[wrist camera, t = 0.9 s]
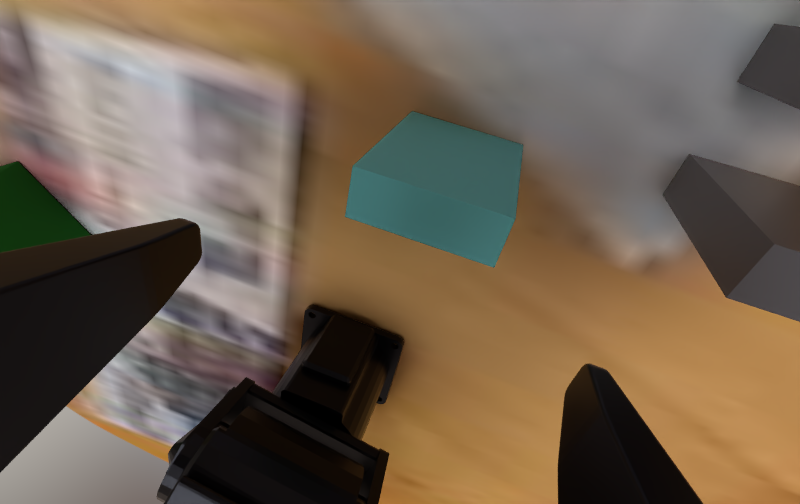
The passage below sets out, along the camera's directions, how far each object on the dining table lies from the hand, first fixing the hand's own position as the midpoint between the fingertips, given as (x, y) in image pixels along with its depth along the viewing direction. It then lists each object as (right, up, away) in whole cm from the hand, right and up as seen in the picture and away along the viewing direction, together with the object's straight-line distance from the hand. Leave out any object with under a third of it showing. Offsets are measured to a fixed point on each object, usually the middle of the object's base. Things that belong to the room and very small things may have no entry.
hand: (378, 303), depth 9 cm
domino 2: (+14, +3, +7) cm, 16 cm away
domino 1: (+3, +6, +9) cm, 11 cm away
